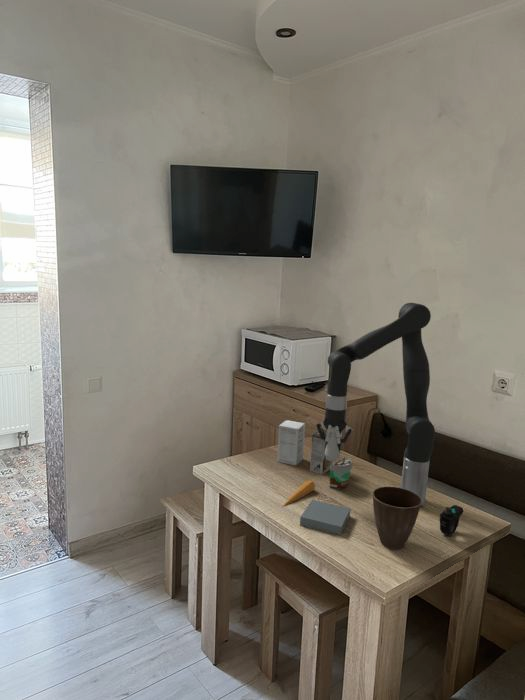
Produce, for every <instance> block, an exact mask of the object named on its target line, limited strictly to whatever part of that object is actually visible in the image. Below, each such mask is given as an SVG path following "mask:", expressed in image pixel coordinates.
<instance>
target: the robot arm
mask: <svg viewBox="0 0 525 700" xmlns="http://www.w3.org/2000/svg"><path fill="white" fill-rule="evenodd" d="M431 317H432V314H431V311H430V309H429V308H428V307H427V306H426V305H424V304H421V303H416V302H407V303H404V304H403V305H402V306H401V308H399V312H398V318H397V319H395V320H394V321H392V322H391V323H388V324H386V325H384V326H382V327H380V328H377V329H374V330H371V331H370V332H368V333H366V334H364V335H363V336H361V337H359V338H358V339H355V341H353V342H352V343H349V344H347V345H343V346H342V347H339V348H336V349H335V350H333V351H332V352H331V353H330V354H329V356H328V357H327V364H328V366H329V367H330V368H331V373H330V378H329V379H328V382H327V392H326V399H325V410H324V419H323V421H322V422H318V423H317V424H316V428H317V432H319V435H320V437H321V439H324V440H325V441H326V443H325V449H326V445H327V444H328V441H329V437H330V433H331V432H330V429H331V428H332V427H335V430H336V431H337V433H336V437H337V443H338V444H337V445H338V447H339V452H340V453H341V450H342V444H345V443H346V442H347V440H348V438H349V437H350V435H351V434H352V431H353V430H354V428H353V427H352V426H351V427H350V426H348V424H347V422H346V419H347V418H346V417H347V406H348V397H347V395H348V382H349V379H350V375H351V371H352V363H353V362H355V361H357V360H358V361H360V360H363V359H366V358H367V357H369V356H371V355H372V354H374V353H376V352H377V351H379V350H380V349H382V348H384V347H385V346H387V345H389V344H391V343H393V342H395V341H396V340H399V339H400V338H401V343H402V344H401V345H402V349H401V350H402V372H403V385H404V393H405V398H406V399H405V400H406V415H405V429H406V432H407V434H408V438H407V445H406V446H407V447H406V448H405V449H404V453H403V454H404V456H403V461H402V462H403V465H402V472H401V473H402V474H401V483H400V488H403V489H406V490H409V491H411V492H413V493H415V494H417V495H418V496H419V497H420V499H421V505H420V507H425V503H426V495H427V488H428V478H429V468H430V462H431V461H430V460H431V456H432V455H433V451H434V445H435V439H436V438H435V437H436V430H435V426H434V424H433V423H432V421H431V419H429V413H428V405H427V401H428V400H427V399H428V398H427V397H428V395H429V389H430V383H431V380H430V379H431V376H430V363H429V359H428V356H427V352H426V349H425V346H424V344H423V343H424V342H423V340H422V329H424V328H426V327H427V326H428V325H429V323H430V321H431ZM324 428H325V429H326V431H327V434H326V435H325V433H324V430H325V429H324ZM344 430H345V435H344V437H343V438H342V436H343V435H342V433H343V431H344Z"/></svg>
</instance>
